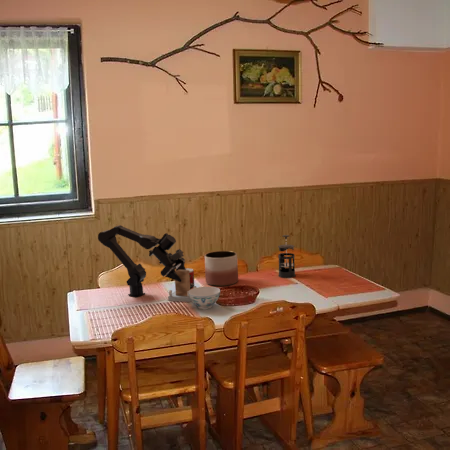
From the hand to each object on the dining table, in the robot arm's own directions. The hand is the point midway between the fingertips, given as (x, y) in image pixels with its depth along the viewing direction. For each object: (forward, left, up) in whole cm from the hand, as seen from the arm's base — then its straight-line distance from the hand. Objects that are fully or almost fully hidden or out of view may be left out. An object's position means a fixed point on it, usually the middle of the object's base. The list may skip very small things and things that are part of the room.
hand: (184, 278), depth 275 cm
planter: (-1, +32, -10) cm, 33 cm away
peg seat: (-1, 0, -10) cm, 10 cm away
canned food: (-8, +11, -10) cm, 17 cm away
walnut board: (-1, 0, -8) cm, 8 cm away
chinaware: (+17, -5, -10) cm, 20 cm away
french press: (+23, +60, -10) cm, 65 cm away
